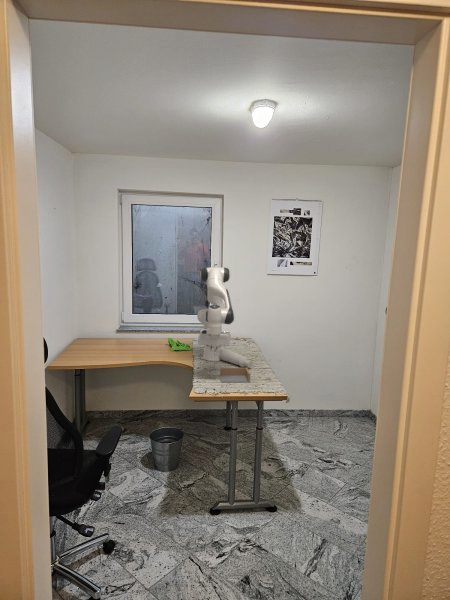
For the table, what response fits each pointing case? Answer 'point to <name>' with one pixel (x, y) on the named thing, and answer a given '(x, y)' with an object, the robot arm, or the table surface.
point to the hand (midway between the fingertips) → (213, 352)
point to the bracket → (214, 354)
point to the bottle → (235, 358)
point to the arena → (234, 375)
